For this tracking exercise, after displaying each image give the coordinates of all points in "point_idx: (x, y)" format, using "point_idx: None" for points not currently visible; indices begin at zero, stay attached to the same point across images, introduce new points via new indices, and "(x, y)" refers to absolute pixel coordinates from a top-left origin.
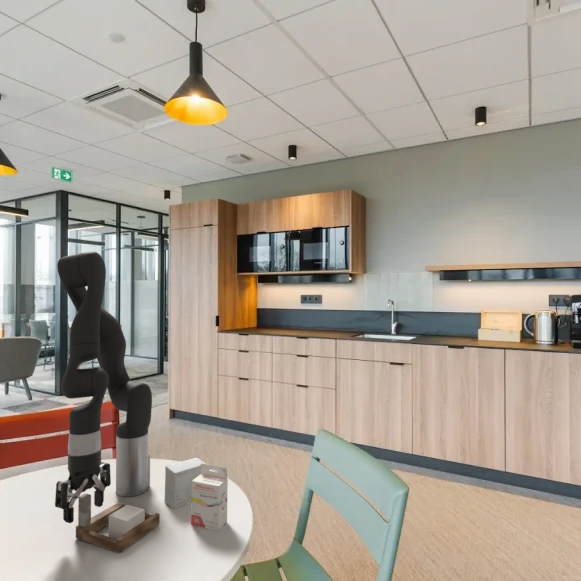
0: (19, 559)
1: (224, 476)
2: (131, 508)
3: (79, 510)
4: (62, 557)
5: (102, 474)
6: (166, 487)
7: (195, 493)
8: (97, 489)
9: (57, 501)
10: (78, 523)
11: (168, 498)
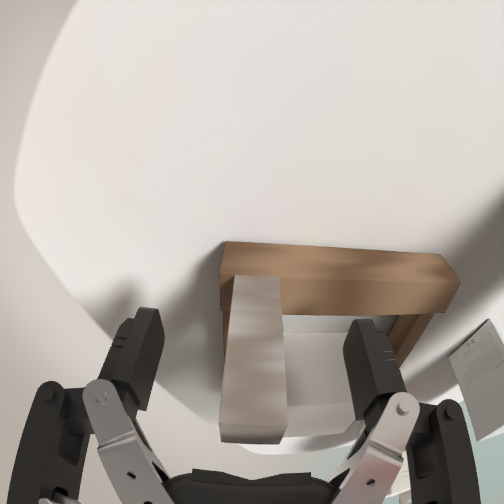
0: (46, 163)
1: (401, 496)
2: (344, 418)
3: (228, 343)
4: (131, 280)
5: (432, 489)
6: (498, 361)
7: None
8: (376, 418)
9: (41, 420)
10: (234, 280)
11: (477, 350)
